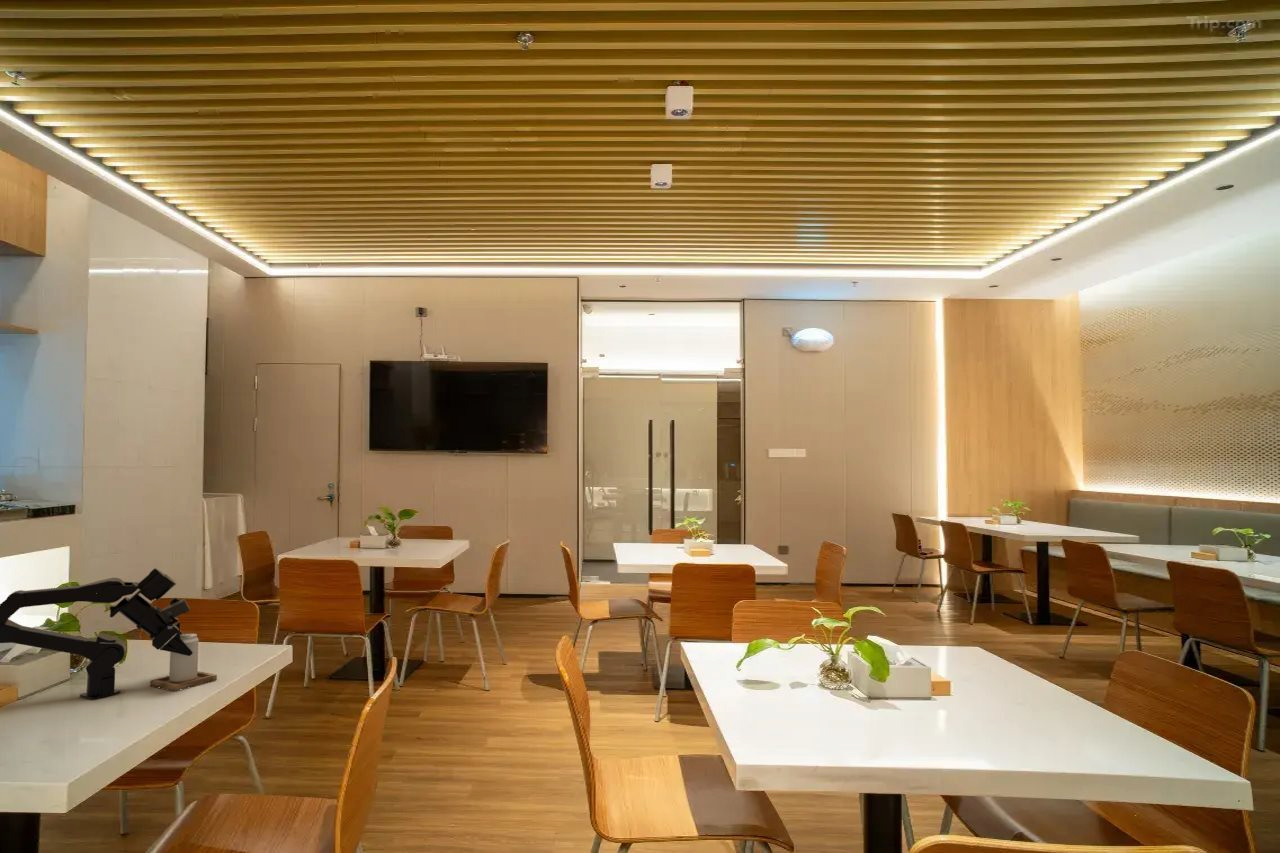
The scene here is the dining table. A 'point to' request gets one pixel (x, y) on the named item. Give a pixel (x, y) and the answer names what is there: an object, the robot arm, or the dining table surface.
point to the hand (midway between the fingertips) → (191, 650)
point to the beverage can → (184, 661)
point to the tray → (199, 680)
